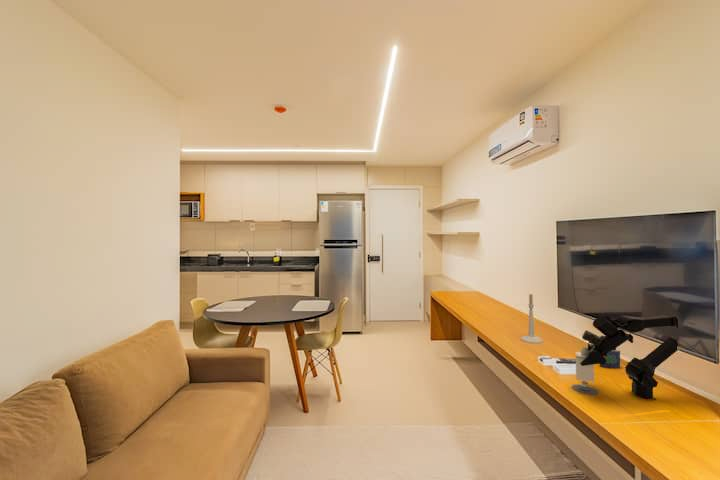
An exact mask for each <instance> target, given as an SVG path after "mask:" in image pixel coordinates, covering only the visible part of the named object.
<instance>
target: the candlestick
mask: <svg viewBox="0 0 720 480" xmlns="http://www.w3.org/2000/svg"><path fill="white" fill-rule="evenodd" d="M533 297H534V296H533V294H528V300H529V301H528V302H529V303H528V304H527V305H528V308H529V310H528V311H529V312H528V315H529V316H528V334H527V335H523V336H521V337H520V341H522V342H524V343H528V344H535V345H536V344H541V343H543V342H544V341H543V339H542V338H541V337H539V336H537V335H535V325H534V324H535V323H534V311H533V308H534V306H535V305H534V303H533V301H534V300H533Z"/></svg>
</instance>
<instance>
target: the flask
mask: <svg viewBox="0 0 720 480" xmlns="http://www.w3.org/2000/svg"><path fill="white" fill-rule="evenodd" d="M606 362H607V363H605V364H604V365H601V364H599V367H600V368H604V369H621V350H619V349H616V350H615V351H614V350H612V351H611V352H609V353H608V356H606Z"/></svg>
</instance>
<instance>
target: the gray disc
mask: <svg viewBox="0 0 720 480" xmlns="http://www.w3.org/2000/svg"><path fill="white" fill-rule="evenodd" d="M581 386H582V384H579V383H578V384H573V385H571V387H570V388H571V389H572V390H573V391H575V392H576V393H579V394H582V395H585V396H586V395H587V396H596V395H598V394H599V393H600V392H599V390H598V389H597V388H594V387H593V386H590V385H588V388H589V391H585V390H582V389H581Z"/></svg>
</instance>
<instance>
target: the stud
mask: <svg viewBox="0 0 720 480" xmlns="http://www.w3.org/2000/svg"><path fill="white" fill-rule="evenodd" d="M581 385H582V386H581V389H582V390H585V391H589V388H588V386H589V381H584V380H581Z"/></svg>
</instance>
